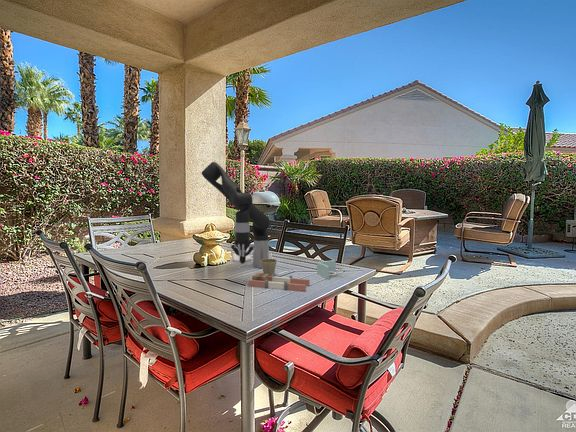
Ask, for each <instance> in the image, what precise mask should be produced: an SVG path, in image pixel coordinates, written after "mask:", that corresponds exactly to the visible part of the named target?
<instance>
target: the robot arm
mask: <svg viewBox="0 0 576 432" xmlns="http://www.w3.org/2000/svg"><path fill="white" fill-rule="evenodd" d="M201 175H202V176H203V178H204V179H205V180H206V181H208V183H209V184H211V185H212V186H213V187H214V188H215V189H217V190H218V191H219V192H220V193H221V194H222V195H223V196H224V197H225V198H226V199H227V200H228V201H229V203H231V204H232V205H233V206H234V207H235V209H237V210H238V211H236V212H235V227H234V233H235V238H234V239H235V241H234V243H233V244H232V245H231V246H230V247H231V249H232V251H233V253H236V255H239V256H240V262H239V263H240V264H242V265H243V264H245V263H246V262H245V261H246V256H247V255H250V254H251V252H252V251H253V252H252V267H253V268H256V269H263V267H262V263H261V260H263V259H270V257H269V254H270V253H269V246H270V245H269V237H270V236H269V233H268V230H267V229H268V228H270V226H271V221H270V218H269V217H268V216H267V215H266V214H264V213H263V212H262V211H261V210H260V209H258V208H257V206H255V204H254V203H253V197H252V195H251V193H249V192H242V189H241V188H240V187H239V186H238V185H237V184H236V183H235V182H234V181H233V180H232V178H230V177H231V176H229V175H228V174H227V172H226V171H225V170H224V168H223V167H222V166H221V165H220V164H218V162H216V161H212V162H210V163H209V165H207V166H206V167H205V168H204V169H203V170H202V171H201ZM218 179H221V183H219V182H218V181H217V180H218ZM250 220H251V221H252V234H253V235H252V236H253V245H252V244H251V241H250V240H251V234H250V233H251V232H250V231H251V227H250ZM247 248H249V249H248V251H247ZM246 252H247V253H246Z"/></svg>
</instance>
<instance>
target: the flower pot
mask: <svg viewBox="0 0 576 432" xmlns="http://www.w3.org/2000/svg"><path fill="white" fill-rule="evenodd" d="M277 262H278V260H277V259H275V258H269V259H263V260H261V263H262V267H263V268H262V273H263V274H269V276H271V275H272V274H274V275H275V272H276V264H277Z"/></svg>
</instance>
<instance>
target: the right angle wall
mask: <svg viewBox="0 0 576 432" xmlns="http://www.w3.org/2000/svg"><path fill="white" fill-rule="evenodd" d="M316 264H317V265H316V274H317V275H319V276H320V277H322V278H323V279H326V280H330V278H336V277H337V275H338V273H337V271H336V268H337V267H336V265H337V262H336V259H332V260H331V259H330V260H325V261H324V260H322V261H317V263H316Z"/></svg>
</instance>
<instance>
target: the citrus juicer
mask: <svg viewBox="0 0 576 432" xmlns="http://www.w3.org/2000/svg"><path fill="white" fill-rule="evenodd" d="M248 250H249V247H248V248H247V251H248ZM246 253H247V252H246ZM232 260H233V263H241V262H240V256H239V255H236V253H235V252H233V253H232ZM251 261H252V257H251V255H250V254H249V255H247V256H246V261H245V263H247V262H251Z"/></svg>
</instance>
